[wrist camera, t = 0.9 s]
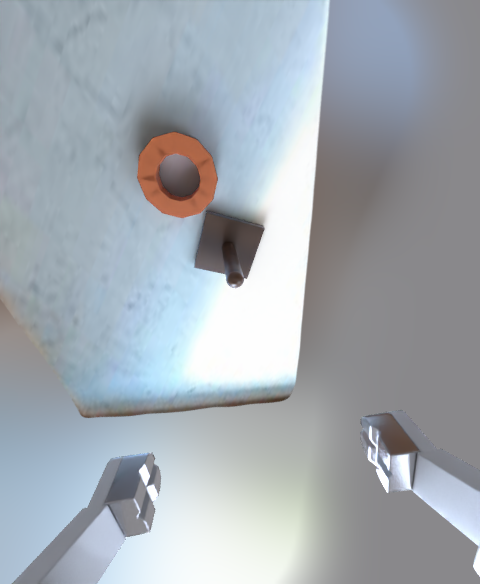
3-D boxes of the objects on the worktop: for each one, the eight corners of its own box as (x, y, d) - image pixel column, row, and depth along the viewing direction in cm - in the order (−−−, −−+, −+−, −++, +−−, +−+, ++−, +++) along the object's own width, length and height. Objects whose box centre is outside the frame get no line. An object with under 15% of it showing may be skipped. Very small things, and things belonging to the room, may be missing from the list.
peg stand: (206, 210, 41) (207, 239, 29) (262, 225, 43) (284, 258, 32) (194, 264, 46) (191, 307, 34) (245, 275, 48) (258, 318, 37)
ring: (146, 121, 34) (141, 120, 31) (223, 148, 36) (225, 148, 34) (139, 201, 39) (134, 206, 36) (207, 219, 42) (207, 224, 39)
